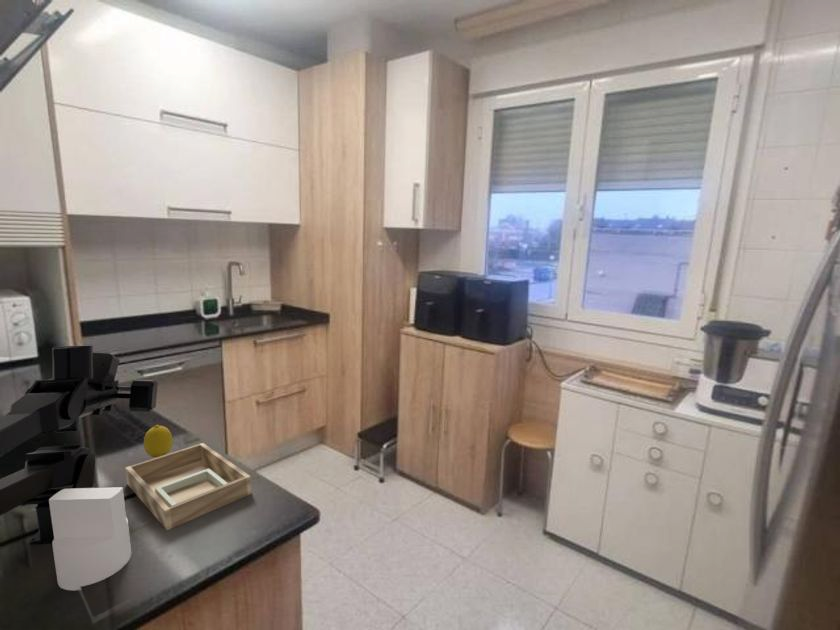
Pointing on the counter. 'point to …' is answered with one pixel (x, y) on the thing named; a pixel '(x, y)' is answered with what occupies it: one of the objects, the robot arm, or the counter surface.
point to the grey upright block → (89, 535)
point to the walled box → (190, 497)
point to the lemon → (158, 441)
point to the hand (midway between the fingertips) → (124, 388)
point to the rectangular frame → (185, 481)
